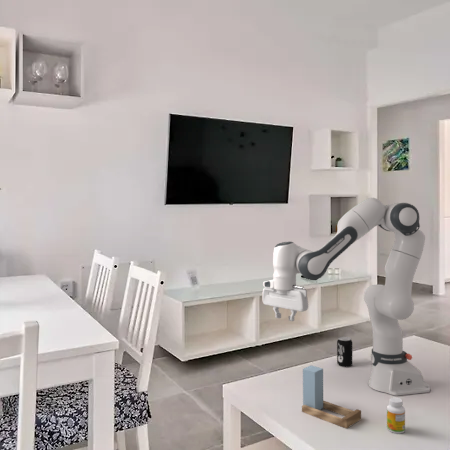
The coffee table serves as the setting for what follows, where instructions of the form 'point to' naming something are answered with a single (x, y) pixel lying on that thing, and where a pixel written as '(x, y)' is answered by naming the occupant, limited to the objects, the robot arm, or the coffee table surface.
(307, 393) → the block
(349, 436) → the coffee table surface
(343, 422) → the brown flat open frame
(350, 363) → the beverage can
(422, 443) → the coffee table surface
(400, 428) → the supplement bottle
